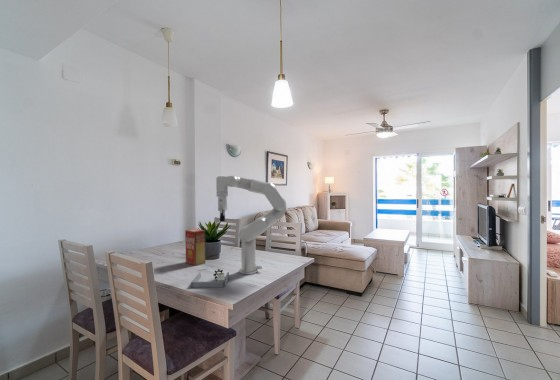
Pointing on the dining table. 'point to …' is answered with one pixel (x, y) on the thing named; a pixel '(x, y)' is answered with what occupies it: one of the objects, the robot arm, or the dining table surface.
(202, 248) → the food packaging
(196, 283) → the tray frame
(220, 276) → the valve
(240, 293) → the dining table surface
